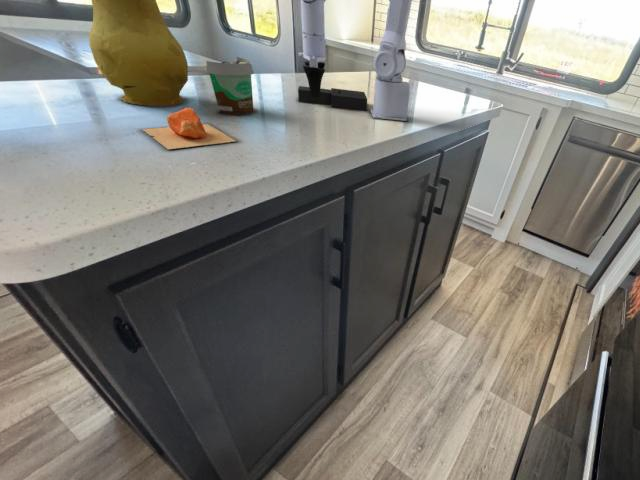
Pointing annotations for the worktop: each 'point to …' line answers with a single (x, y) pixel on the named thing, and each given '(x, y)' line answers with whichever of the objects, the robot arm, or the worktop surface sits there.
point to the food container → (232, 86)
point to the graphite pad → (349, 99)
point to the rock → (186, 131)
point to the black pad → (323, 97)
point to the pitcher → (138, 52)
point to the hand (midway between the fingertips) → (315, 94)
